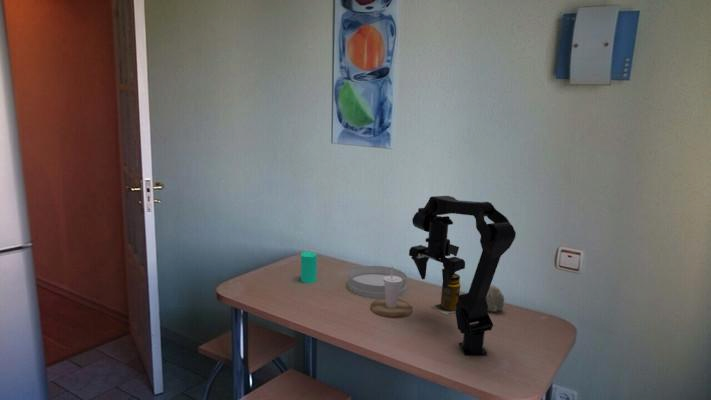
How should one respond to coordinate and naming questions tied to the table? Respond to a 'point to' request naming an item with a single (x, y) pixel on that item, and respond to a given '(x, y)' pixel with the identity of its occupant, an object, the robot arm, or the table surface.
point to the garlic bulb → (494, 299)
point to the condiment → (449, 296)
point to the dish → (373, 281)
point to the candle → (308, 267)
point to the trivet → (399, 311)
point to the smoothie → (392, 289)
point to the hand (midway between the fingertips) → (434, 283)
